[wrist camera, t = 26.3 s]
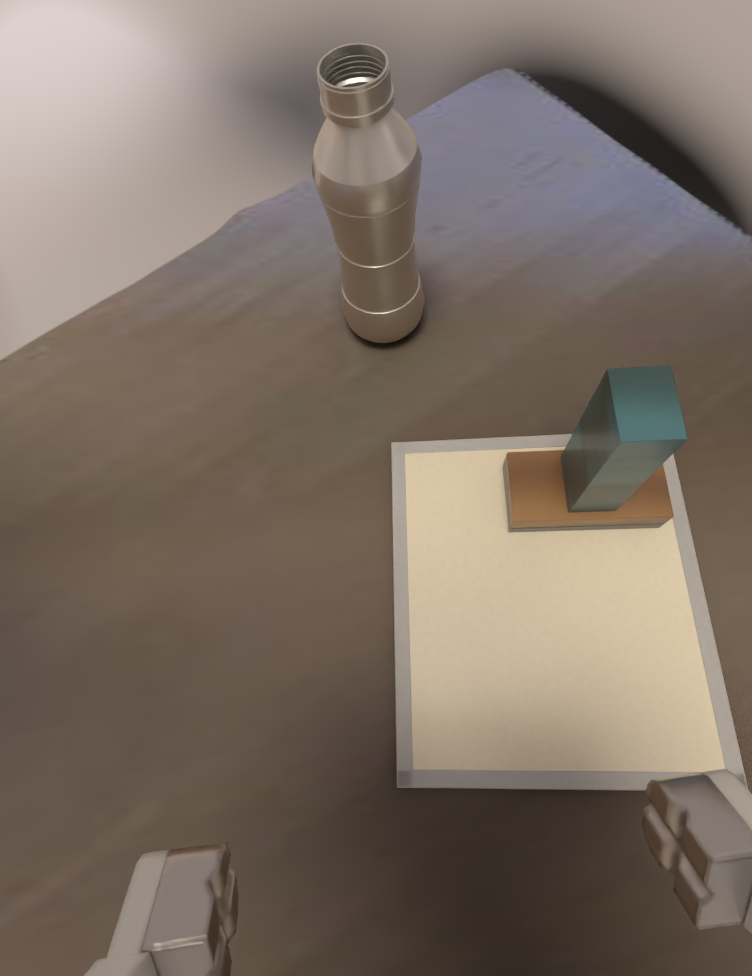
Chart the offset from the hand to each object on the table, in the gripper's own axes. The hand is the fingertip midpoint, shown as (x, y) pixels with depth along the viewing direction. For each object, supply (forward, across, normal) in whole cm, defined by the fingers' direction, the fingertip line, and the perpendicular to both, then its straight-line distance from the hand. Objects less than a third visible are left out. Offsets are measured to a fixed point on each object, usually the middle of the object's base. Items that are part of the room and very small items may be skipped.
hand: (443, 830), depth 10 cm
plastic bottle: (+40, -4, -7) cm, 41 cm away
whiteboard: (+23, -12, +11) cm, 28 cm away
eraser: (+26, -15, +5) cm, 31 cm away
